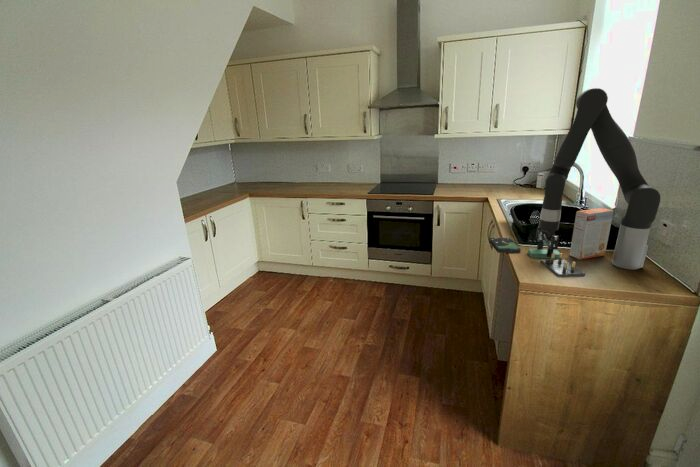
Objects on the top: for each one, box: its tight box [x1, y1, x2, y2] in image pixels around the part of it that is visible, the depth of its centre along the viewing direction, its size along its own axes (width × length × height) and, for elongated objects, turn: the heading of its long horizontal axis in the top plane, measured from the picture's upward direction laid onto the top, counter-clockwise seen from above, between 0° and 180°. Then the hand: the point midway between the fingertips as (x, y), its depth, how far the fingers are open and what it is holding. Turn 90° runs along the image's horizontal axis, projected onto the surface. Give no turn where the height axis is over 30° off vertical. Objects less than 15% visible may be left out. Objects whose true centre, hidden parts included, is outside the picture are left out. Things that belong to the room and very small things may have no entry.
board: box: [527, 248, 561, 260], centre depth 152 cm, size 12×6×2 cm, turn 77°
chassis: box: [540, 252, 586, 278], centre depth 138 cm, size 10×14×5 cm
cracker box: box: [568, 207, 615, 261], centre depth 147 cm, size 14×6×21 cm, turn 105°
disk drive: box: [488, 237, 522, 254], centre depth 164 cm, size 10×3×15 cm
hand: (544, 253), depth 152 cm, fingers open, 8 cm apart
